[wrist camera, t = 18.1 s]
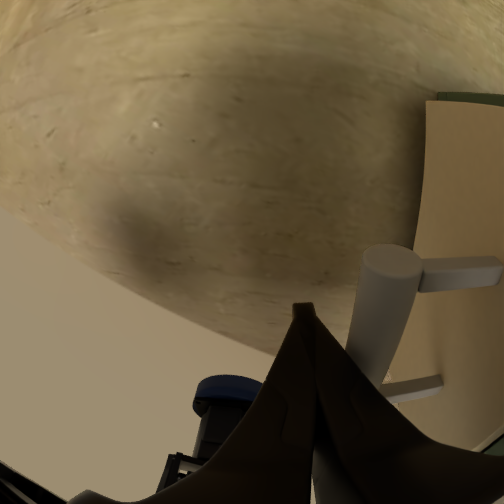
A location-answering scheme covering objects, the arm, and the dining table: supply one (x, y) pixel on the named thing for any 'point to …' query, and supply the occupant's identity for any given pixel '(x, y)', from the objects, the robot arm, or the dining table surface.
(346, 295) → the dining table surface
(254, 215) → the dining table surface
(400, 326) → the drawer
